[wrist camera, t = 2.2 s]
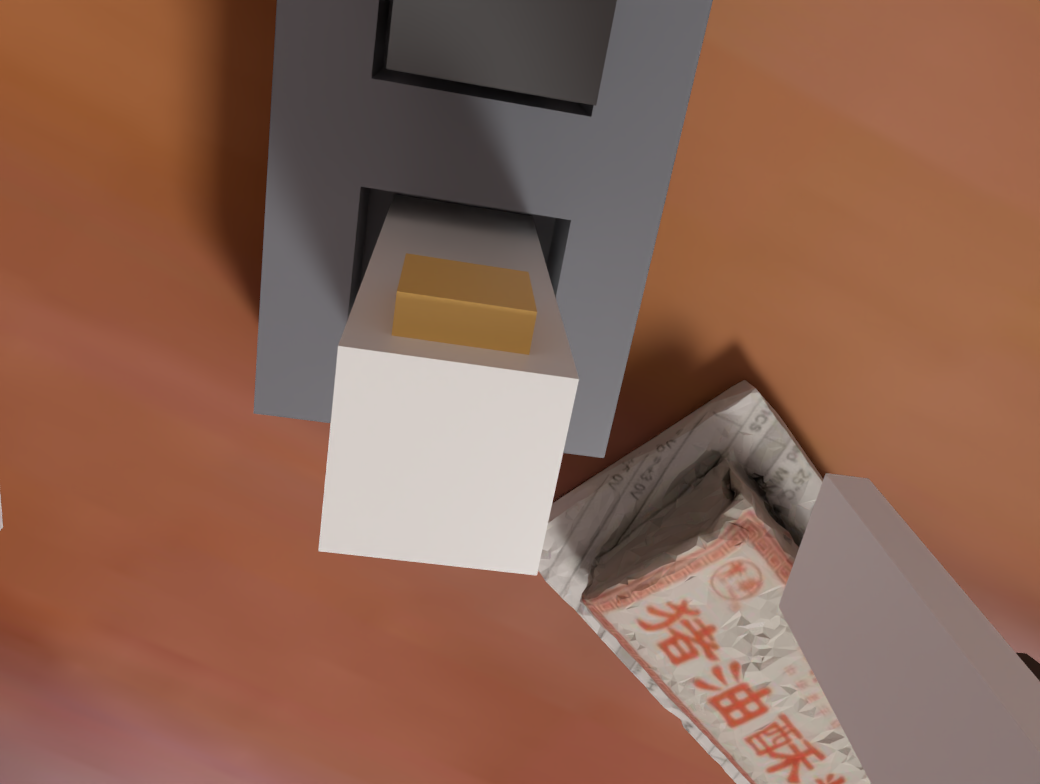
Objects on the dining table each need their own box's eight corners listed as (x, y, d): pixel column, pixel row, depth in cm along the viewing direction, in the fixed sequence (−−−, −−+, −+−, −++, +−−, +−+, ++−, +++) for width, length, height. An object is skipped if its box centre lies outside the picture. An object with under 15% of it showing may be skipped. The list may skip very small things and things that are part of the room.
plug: (537, 188, 25) (588, 334, 14) (509, 343, 27) (536, 575, 16) (397, 165, 25) (342, 298, 14) (379, 324, 27) (318, 551, 16)
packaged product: (1040, 780, 32) (800, 903, 34) (970, 683, 36) (762, 798, 38) (790, 429, 25) (513, 609, 27) (742, 364, 30) (507, 524, 32)
